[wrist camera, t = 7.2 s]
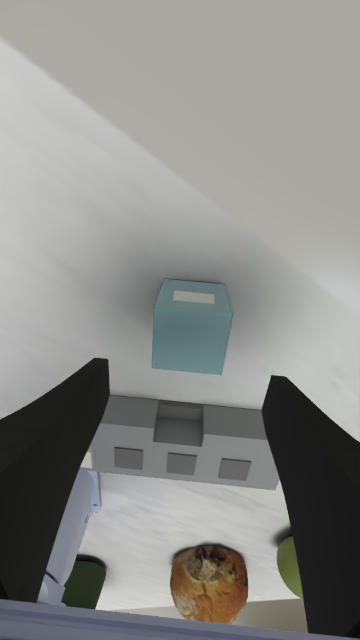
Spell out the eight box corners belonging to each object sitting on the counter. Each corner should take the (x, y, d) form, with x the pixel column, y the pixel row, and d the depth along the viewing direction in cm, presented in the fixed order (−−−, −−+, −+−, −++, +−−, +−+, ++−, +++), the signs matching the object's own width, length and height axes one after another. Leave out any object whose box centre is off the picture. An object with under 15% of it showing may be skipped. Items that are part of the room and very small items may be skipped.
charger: (213, 350, 21) (218, 394, 17) (160, 345, 21) (150, 387, 17) (224, 282, 19) (233, 311, 14) (164, 276, 19) (154, 304, 14)
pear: (277, 600, 28) (346, 543, 26) (261, 544, 33) (317, 492, 31) (316, 617, 29) (385, 563, 27) (294, 560, 34) (351, 511, 32)
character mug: (40, 555, 38) (-30, 718, 26) (73, 540, 36) (12, 711, 24) (96, 586, 41) (57, 744, 29) (130, 574, 39) (101, 740, 27)
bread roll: (168, 531, 40) (152, 607, 35) (195, 537, 32) (180, 635, 27) (226, 550, 42) (219, 626, 36) (266, 560, 34) (264, 658, 29)
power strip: (353, 466, 26) (376, 507, 23) (66, 436, 27) (47, 473, 23) (377, 422, 24) (408, 461, 20) (59, 390, 24) (37, 423, 21)
